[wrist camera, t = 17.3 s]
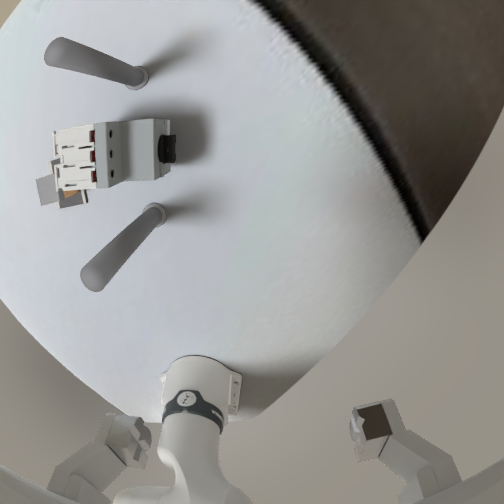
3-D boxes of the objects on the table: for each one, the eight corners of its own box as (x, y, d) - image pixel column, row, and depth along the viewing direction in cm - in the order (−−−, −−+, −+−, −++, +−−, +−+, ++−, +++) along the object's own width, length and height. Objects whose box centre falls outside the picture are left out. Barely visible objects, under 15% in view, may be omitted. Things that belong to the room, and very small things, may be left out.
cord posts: (168, 225, 47) (114, 295, 27) (146, 227, 47) (83, 296, 27) (147, 64, 36) (73, 26, 16) (124, 70, 36) (41, 42, 16)
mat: (87, 202, 45) (86, 203, 45) (59, 208, 45) (57, 209, 45) (78, 152, 42) (77, 153, 41) (50, 161, 42) (48, 162, 41)
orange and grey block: (78, 192, 44) (59, 201, 38) (60, 196, 44) (41, 205, 38) (73, 167, 42) (54, 173, 36) (55, 172, 42) (35, 179, 37)
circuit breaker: (187, 167, 43) (158, 185, 30) (106, 171, 43) (54, 191, 29) (187, 120, 40) (157, 116, 27) (104, 127, 40) (50, 132, 26)
